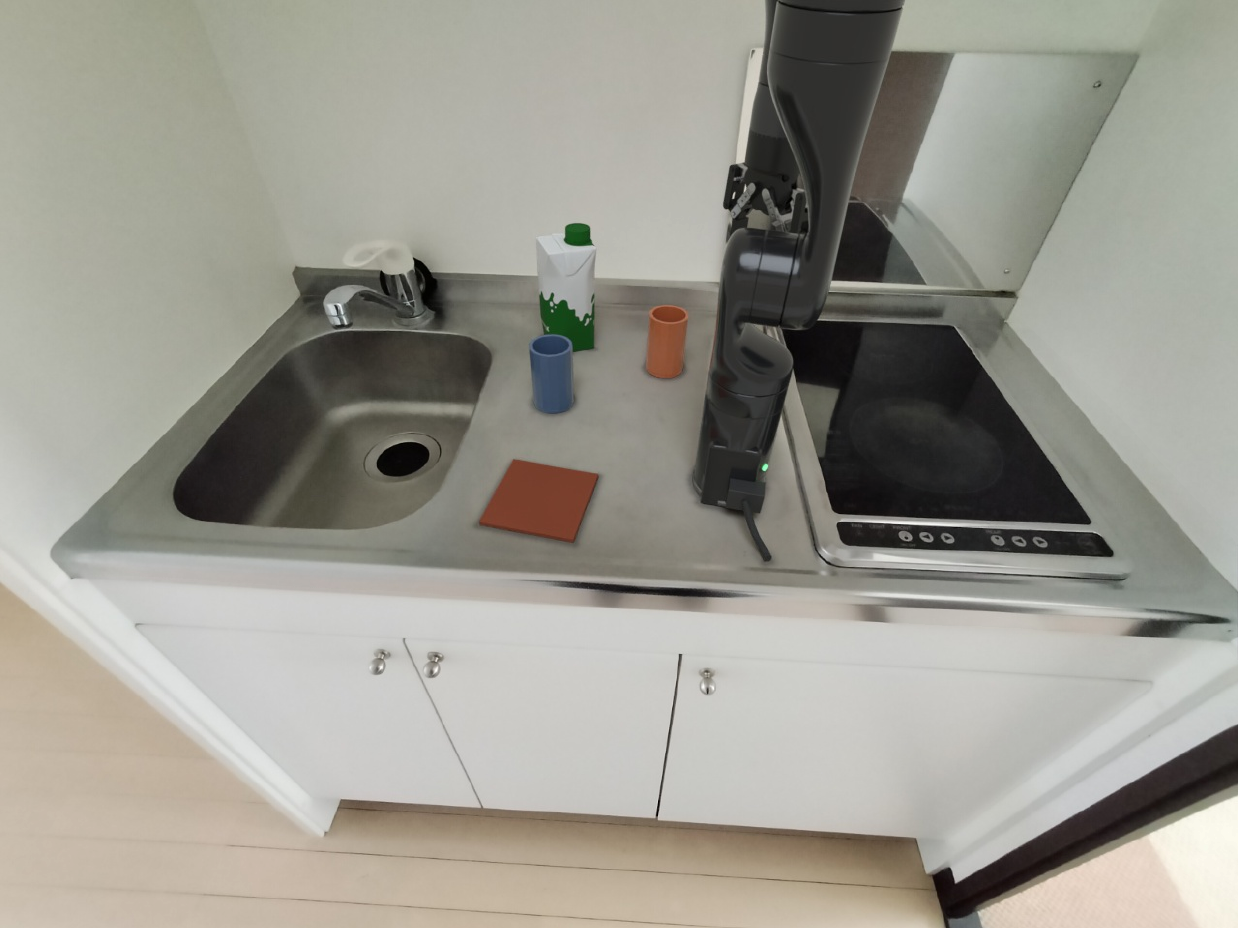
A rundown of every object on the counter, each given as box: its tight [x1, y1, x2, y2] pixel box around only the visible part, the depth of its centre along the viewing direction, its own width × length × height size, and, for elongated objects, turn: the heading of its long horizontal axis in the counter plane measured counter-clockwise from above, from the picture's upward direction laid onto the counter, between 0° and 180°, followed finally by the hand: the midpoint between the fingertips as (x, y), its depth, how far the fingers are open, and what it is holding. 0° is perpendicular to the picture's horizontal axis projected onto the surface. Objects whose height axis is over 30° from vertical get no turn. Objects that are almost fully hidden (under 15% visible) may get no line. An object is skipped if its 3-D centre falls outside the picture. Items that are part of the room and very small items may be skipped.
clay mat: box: [478, 458, 599, 544], centre depth 77 cm, size 12×12×1 cm
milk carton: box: [535, 222, 597, 353], centre depth 100 cm, size 9×9×20 cm
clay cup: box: [645, 304, 690, 379], centre depth 98 cm, size 6×6×10 cm
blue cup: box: [528, 334, 575, 414], centre depth 90 cm, size 6×6×10 cm
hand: (757, 255), depth 84 cm, fingers open, 8 cm apart
